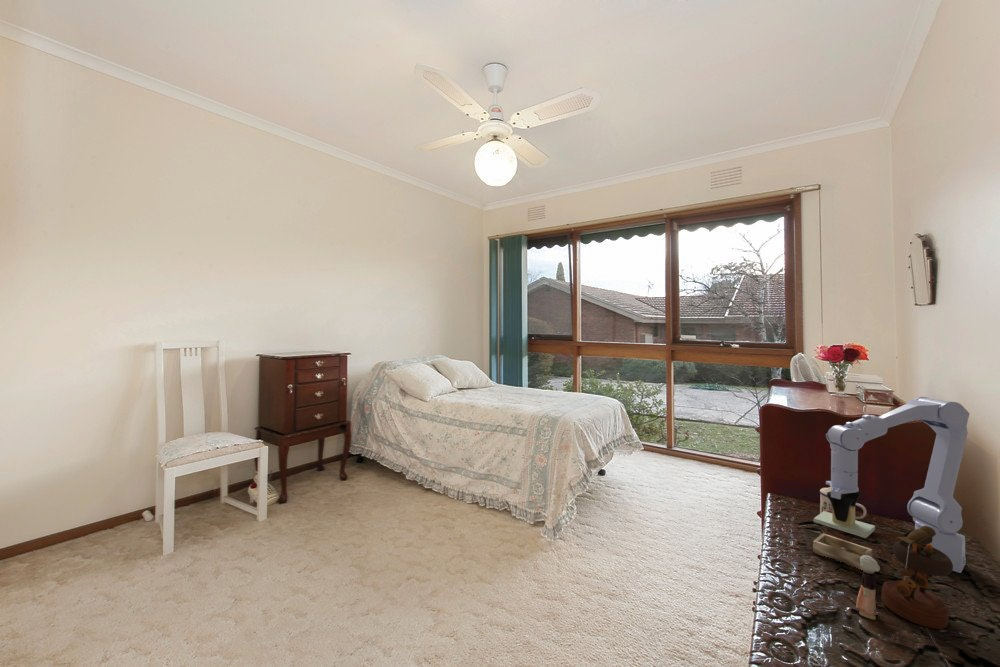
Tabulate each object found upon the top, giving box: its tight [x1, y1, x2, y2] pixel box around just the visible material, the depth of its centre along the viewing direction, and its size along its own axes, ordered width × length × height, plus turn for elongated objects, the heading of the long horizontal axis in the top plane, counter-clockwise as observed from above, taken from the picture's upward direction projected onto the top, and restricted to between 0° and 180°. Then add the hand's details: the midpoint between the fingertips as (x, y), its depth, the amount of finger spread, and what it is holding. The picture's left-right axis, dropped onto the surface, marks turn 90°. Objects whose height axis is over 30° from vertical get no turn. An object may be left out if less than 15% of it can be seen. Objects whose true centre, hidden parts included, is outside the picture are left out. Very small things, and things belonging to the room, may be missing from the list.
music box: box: [880, 526, 953, 630], centre depth 92 cm, size 15×11×20 cm
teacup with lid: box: [819, 486, 867, 520], centre depth 136 cm, size 12×9×12 cm
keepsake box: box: [812, 532, 873, 571], centre depth 114 cm, size 11×8×3 cm
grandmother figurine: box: [855, 555, 881, 620], centre depth 91 cm, size 8×4×13 cm, turn 141°
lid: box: [813, 505, 876, 539], centre depth 115 cm, size 11×8×6 cm
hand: (843, 518), depth 115 cm, fingers closed on lid, 4 cm apart
